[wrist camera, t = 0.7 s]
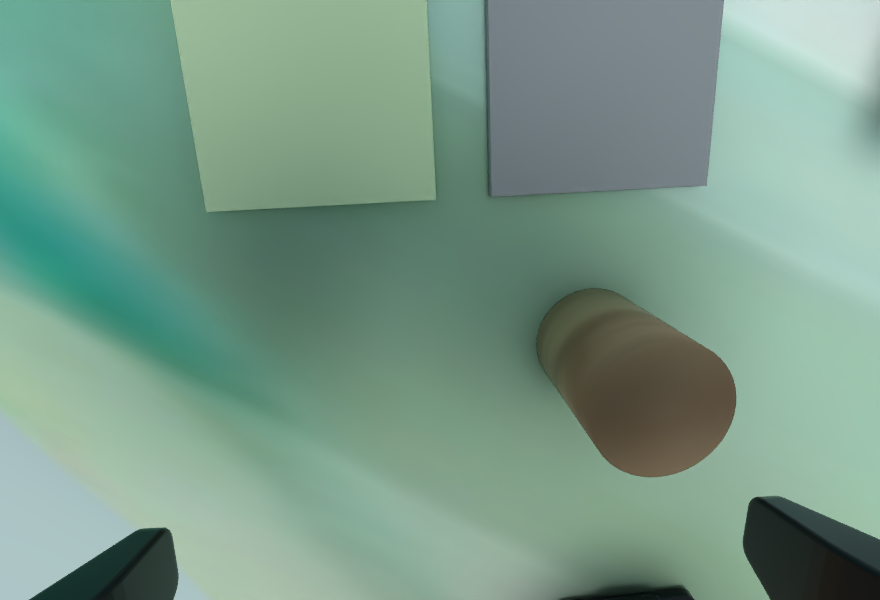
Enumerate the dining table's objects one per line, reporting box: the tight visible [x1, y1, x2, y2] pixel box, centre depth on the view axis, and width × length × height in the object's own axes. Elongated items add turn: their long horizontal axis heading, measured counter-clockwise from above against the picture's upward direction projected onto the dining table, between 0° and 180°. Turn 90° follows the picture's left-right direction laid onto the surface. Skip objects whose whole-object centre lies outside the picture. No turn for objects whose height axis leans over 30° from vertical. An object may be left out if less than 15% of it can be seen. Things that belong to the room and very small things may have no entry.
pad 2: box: [485, 0, 724, 197], centre depth 18 cm, size 8×8×1 cm
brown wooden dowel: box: [536, 289, 736, 477], centre depth 18 cm, size 4×4×6 cm
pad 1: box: [170, 0, 436, 212], centre depth 17 cm, size 8×8×1 cm
